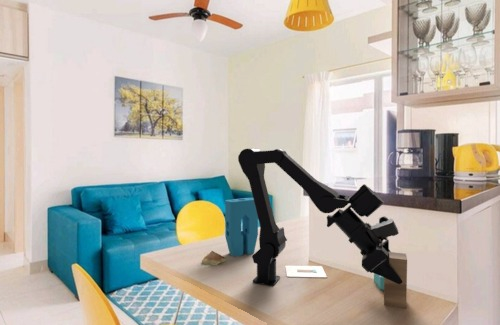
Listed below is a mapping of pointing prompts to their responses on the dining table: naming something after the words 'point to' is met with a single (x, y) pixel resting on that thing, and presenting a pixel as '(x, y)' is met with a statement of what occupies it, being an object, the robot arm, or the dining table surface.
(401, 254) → the walnut brick
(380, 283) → the teal base block
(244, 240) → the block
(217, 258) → the shard
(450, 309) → the dining table surface
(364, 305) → the dining table surface
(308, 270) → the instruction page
